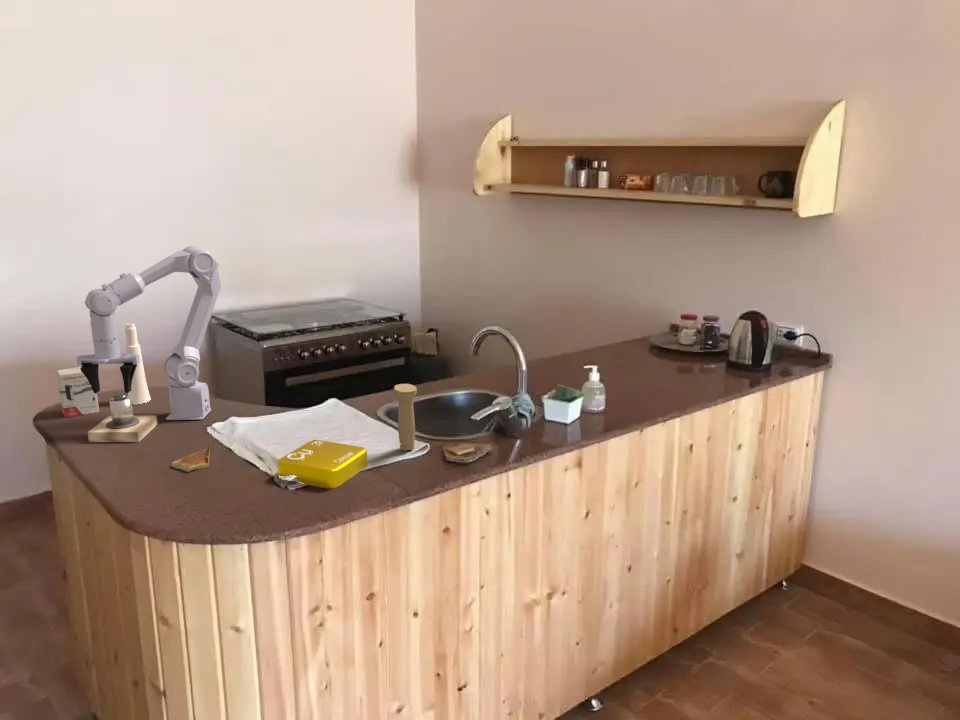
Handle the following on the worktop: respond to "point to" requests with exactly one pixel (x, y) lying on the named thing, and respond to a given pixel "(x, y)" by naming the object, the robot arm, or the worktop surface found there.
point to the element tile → (323, 463)
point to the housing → (121, 409)
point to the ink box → (76, 393)
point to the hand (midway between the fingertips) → (112, 392)
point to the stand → (122, 430)
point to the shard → (193, 461)
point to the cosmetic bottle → (139, 384)
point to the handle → (406, 415)
